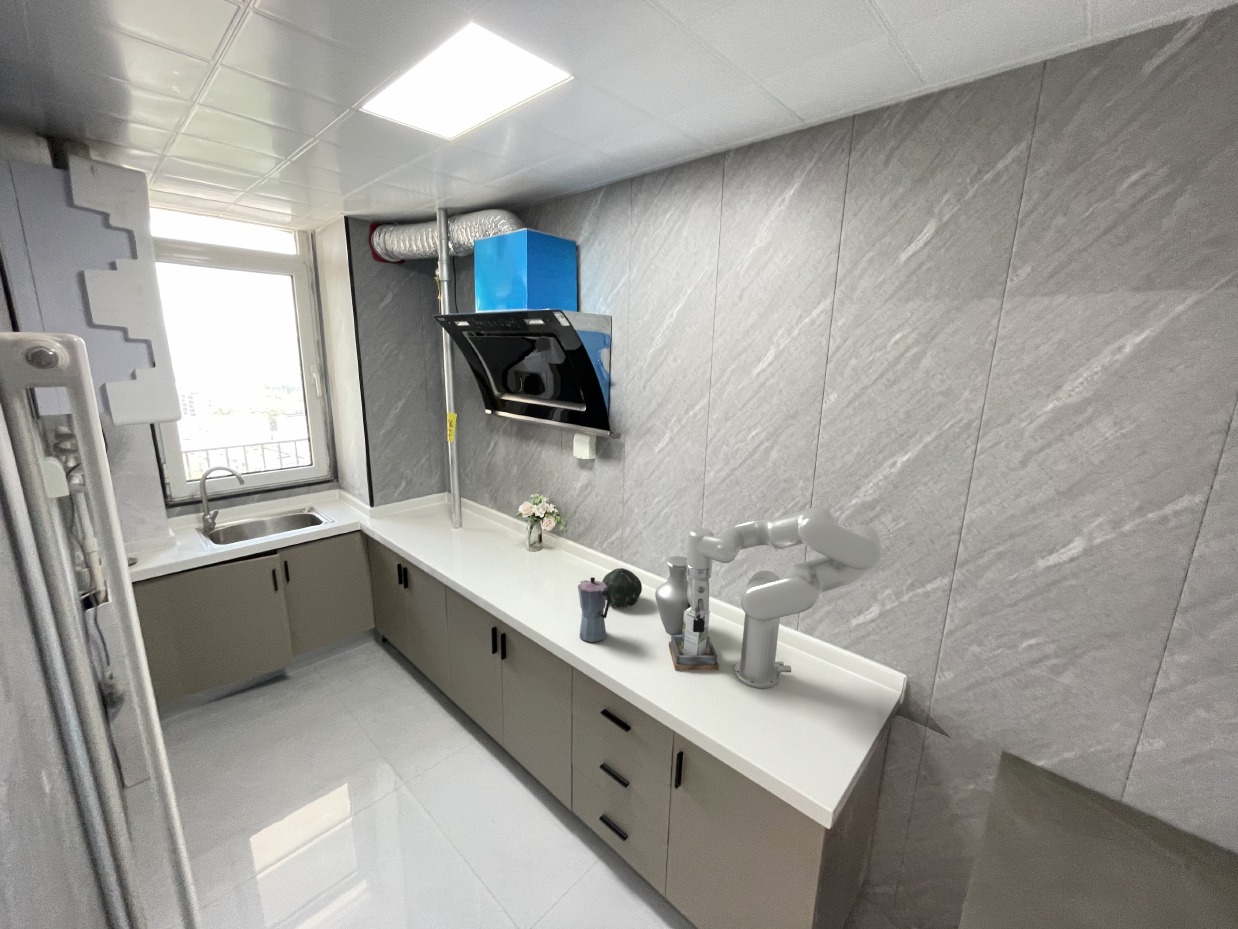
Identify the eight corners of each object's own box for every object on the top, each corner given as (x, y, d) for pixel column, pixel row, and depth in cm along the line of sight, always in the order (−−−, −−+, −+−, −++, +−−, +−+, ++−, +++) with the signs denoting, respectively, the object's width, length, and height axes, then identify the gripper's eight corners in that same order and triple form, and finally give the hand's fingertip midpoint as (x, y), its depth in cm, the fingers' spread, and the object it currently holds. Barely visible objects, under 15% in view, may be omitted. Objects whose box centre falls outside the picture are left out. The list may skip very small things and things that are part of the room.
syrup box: (690, 646, 161) (693, 603, 158) (706, 653, 157) (710, 609, 154) (680, 653, 156) (683, 609, 153) (697, 661, 153) (700, 616, 150)
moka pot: (589, 622, 176) (590, 567, 172) (621, 640, 165) (623, 582, 161) (567, 632, 169) (568, 575, 165) (599, 651, 159) (600, 591, 155)
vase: (648, 636, 168) (651, 565, 163) (660, 616, 182) (663, 550, 176) (691, 645, 164) (696, 572, 158) (700, 624, 177) (705, 556, 172)
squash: (626, 575, 202) (609, 555, 193) (654, 589, 192) (638, 568, 182) (605, 605, 197) (587, 586, 187) (633, 621, 187) (615, 601, 177)
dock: (709, 646, 164) (709, 634, 163) (718, 670, 151) (719, 658, 150) (668, 645, 163) (669, 634, 162) (675, 670, 150) (675, 658, 150)
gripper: (718, 583, 143) (713, 638, 146) (705, 559, 160) (701, 609, 163) (691, 582, 143) (688, 638, 146) (681, 558, 160) (678, 609, 163)
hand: (695, 623), depth 155 cm, fingers open, 9 cm apart
